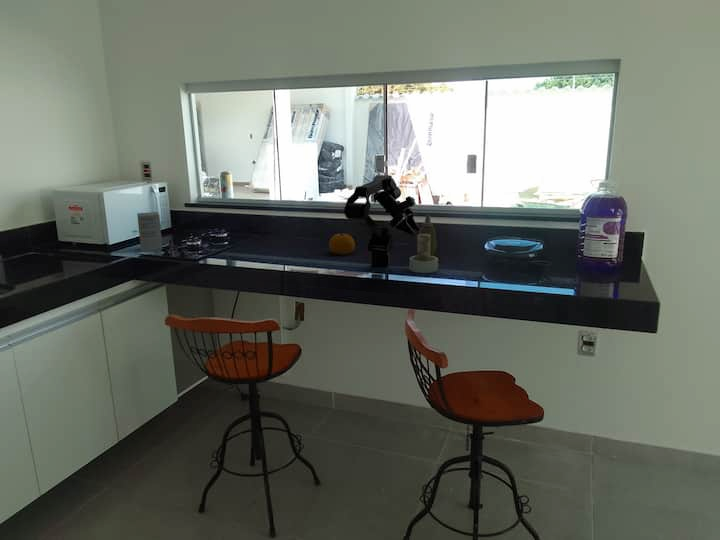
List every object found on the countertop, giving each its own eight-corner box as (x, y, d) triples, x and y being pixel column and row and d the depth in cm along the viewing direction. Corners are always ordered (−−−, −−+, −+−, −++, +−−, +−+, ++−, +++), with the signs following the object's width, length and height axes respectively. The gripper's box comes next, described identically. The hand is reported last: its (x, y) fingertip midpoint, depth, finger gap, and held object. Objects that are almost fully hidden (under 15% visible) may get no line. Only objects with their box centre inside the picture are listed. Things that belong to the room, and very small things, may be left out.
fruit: (356, 250, 254) (356, 228, 252) (353, 256, 243) (353, 233, 241) (331, 250, 255) (330, 228, 253) (327, 255, 244) (326, 233, 242)
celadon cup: (408, 272, 215) (408, 261, 214) (410, 265, 225) (410, 254, 224) (437, 273, 213) (437, 262, 212) (438, 266, 223) (438, 255, 222)
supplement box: (140, 248, 264) (136, 213, 260) (161, 246, 268) (157, 211, 263) (142, 252, 255) (138, 215, 251) (163, 250, 259) (159, 214, 255)
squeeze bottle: (415, 255, 242) (415, 215, 238) (421, 252, 249) (422, 212, 245) (432, 257, 239) (433, 216, 234) (438, 253, 246) (439, 213, 241)
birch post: (416, 268, 217) (417, 236, 214) (417, 265, 222) (418, 233, 219) (429, 269, 216) (430, 236, 213) (430, 266, 221) (430, 234, 218)
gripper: (398, 192, 212) (426, 222, 211) (408, 187, 229) (434, 215, 228) (378, 212, 216) (405, 241, 215) (390, 206, 233) (415, 233, 233)
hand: (416, 232), depth 223 cm, fingers open, 9 cm apart
